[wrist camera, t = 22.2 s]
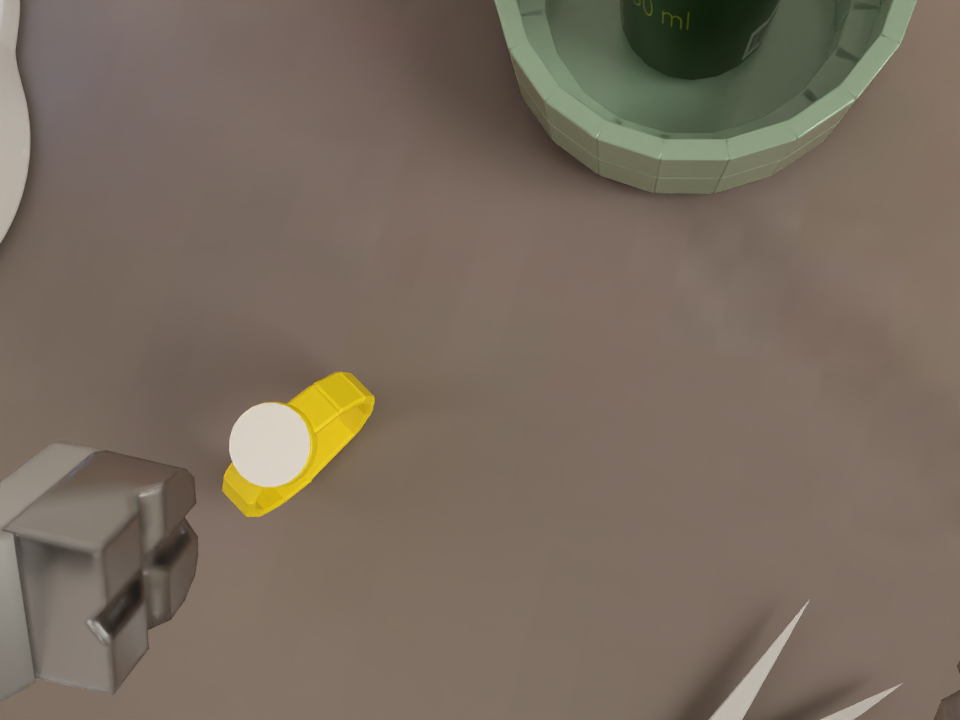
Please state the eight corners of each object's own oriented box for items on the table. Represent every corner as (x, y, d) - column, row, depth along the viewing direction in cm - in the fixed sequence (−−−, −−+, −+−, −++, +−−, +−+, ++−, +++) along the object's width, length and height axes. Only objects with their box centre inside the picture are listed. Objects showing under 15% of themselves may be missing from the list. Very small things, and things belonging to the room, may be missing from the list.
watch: (297, 522, 34) (231, 546, 28) (248, 471, 34) (174, 485, 29) (403, 411, 34) (359, 411, 28) (353, 361, 34) (299, 351, 28)
